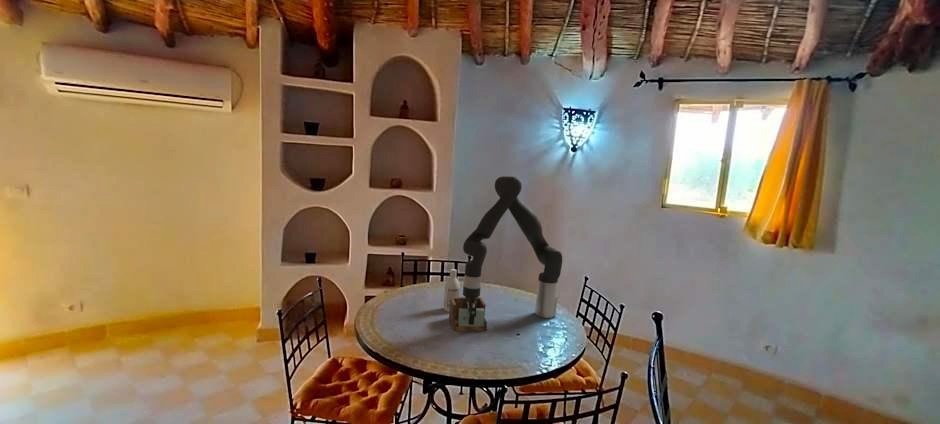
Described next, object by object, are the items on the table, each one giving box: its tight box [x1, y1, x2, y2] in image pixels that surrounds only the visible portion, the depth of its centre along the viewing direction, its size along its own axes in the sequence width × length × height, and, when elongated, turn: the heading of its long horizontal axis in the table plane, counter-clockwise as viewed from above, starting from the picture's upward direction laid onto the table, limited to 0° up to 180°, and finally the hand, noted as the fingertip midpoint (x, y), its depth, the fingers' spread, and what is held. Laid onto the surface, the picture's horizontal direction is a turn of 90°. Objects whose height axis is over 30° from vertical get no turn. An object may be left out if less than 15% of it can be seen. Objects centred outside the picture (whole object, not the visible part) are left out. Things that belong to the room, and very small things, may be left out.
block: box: [458, 308, 486, 327], centre depth 220 cm, size 11×3×9 cm, turn 101°
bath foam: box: [443, 268, 461, 313], centre depth 240 cm, size 7×7×20 cm
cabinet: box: [448, 296, 488, 332], centre depth 225 cm, size 14×14×10 cm
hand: (469, 320), depth 221 cm, fingers open, 8 cm apart
